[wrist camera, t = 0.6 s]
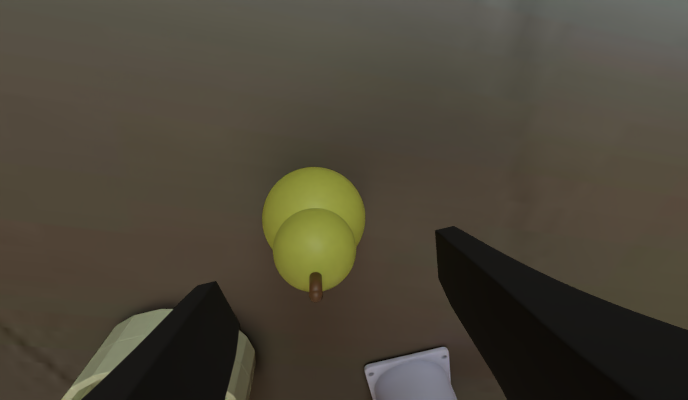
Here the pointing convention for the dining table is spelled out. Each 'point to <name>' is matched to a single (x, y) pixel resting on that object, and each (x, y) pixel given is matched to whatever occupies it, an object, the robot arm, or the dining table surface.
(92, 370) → the bowl
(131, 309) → the dining table surface
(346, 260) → the pear
